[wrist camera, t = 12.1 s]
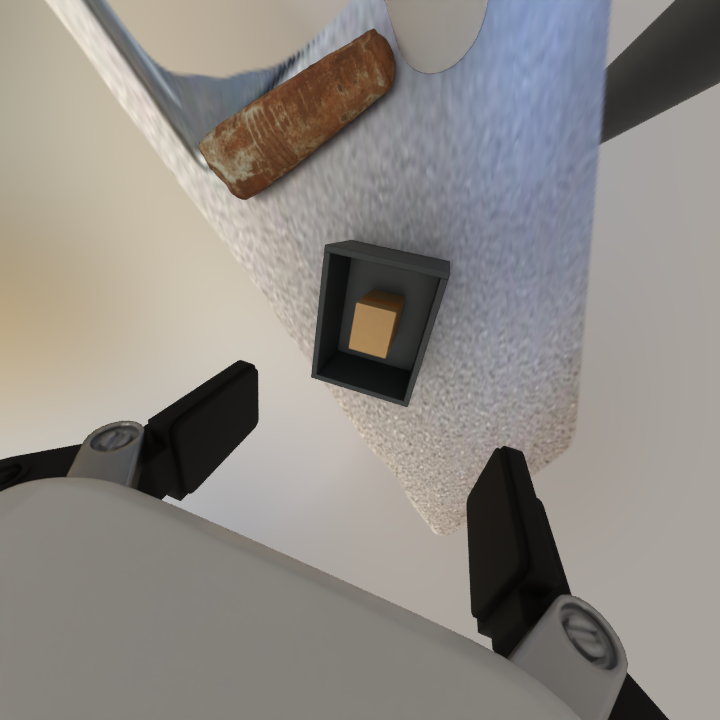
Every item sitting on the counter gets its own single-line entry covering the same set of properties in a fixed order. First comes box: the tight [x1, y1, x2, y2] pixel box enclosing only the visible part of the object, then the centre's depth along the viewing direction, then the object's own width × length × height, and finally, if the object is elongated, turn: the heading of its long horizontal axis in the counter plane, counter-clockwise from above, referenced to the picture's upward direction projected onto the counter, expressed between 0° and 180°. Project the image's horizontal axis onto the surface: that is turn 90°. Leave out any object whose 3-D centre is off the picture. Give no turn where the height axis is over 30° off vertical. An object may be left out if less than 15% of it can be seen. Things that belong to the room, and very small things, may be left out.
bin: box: [311, 240, 450, 407], centre depth 31 cm, size 14×11×8 cm
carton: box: [349, 289, 405, 358], centre depth 31 cm, size 5×4×6 cm
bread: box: [198, 29, 396, 200], centre depth 26 cm, size 6×19×6 cm, turn 112°
